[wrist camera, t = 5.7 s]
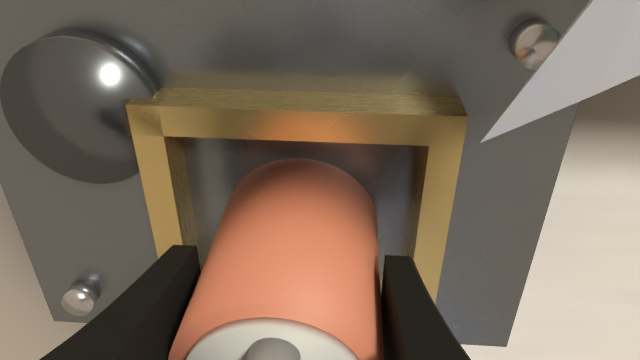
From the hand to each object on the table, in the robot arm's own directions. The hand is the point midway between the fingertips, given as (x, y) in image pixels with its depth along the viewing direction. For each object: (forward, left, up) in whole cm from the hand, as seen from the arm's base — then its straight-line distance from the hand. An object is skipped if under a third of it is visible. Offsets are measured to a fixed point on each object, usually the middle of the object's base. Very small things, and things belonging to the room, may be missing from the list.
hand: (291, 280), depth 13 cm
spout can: (0, 0, -3) cm, 3 cm away
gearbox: (+1, +1, -6) cm, 6 cm away
